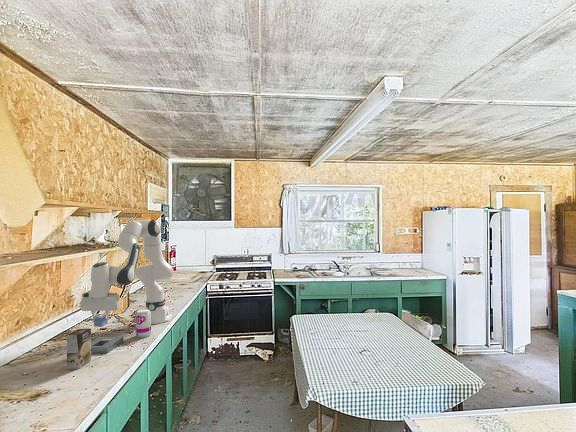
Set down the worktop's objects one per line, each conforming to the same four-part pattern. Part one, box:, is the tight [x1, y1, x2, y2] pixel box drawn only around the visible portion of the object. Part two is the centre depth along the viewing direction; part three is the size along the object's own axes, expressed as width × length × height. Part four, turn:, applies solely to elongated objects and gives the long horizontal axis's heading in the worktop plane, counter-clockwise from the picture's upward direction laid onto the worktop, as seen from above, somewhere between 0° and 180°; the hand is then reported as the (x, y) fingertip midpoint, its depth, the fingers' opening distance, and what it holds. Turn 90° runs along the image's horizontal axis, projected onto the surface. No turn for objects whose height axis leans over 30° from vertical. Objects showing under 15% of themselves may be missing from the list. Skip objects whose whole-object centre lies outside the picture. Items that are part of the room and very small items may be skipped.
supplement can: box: [135, 308, 152, 339], centre depth 202 cm, size 8×8×15 cm
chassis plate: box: [91, 336, 125, 354], centre depth 184 cm, size 16×14×3 cm
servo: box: [92, 314, 110, 328], centre depth 183 cm, size 9×4×6 cm, turn 179°
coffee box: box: [66, 328, 92, 370], centre depth 162 cm, size 9×6×16 cm
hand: (100, 318), depth 182 cm, fingers closed on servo, 4 cm apart
